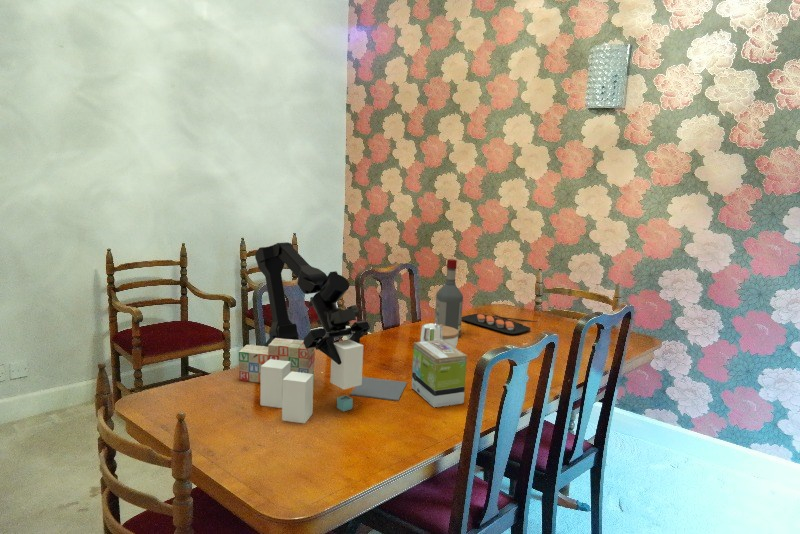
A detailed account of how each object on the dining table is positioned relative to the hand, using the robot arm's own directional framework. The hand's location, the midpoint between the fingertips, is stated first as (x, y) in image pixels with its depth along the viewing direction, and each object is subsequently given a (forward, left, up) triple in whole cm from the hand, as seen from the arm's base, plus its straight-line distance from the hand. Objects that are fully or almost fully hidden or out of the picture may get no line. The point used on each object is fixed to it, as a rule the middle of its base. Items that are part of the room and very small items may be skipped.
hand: (349, 361), depth 156 cm
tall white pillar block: (-11, -8, -13) cm, 19 cm away
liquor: (+18, +79, -14) cm, 82 cm away
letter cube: (-1, +1, -14) cm, 14 cm away
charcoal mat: (+5, +17, -13) cm, 22 cm away
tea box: (+22, +17, -14) cm, 31 cm away
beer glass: (+17, +37, -14) cm, 43 cm away
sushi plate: (+40, +106, -14) cm, 114 cm away
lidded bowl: (+18, +54, -14) cm, 58 cm away
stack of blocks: (-26, +14, -14) cm, 32 cm away
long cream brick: (-20, -1, -13) cm, 24 cm away
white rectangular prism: (-1, +1, -7) cm, 7 cm away
